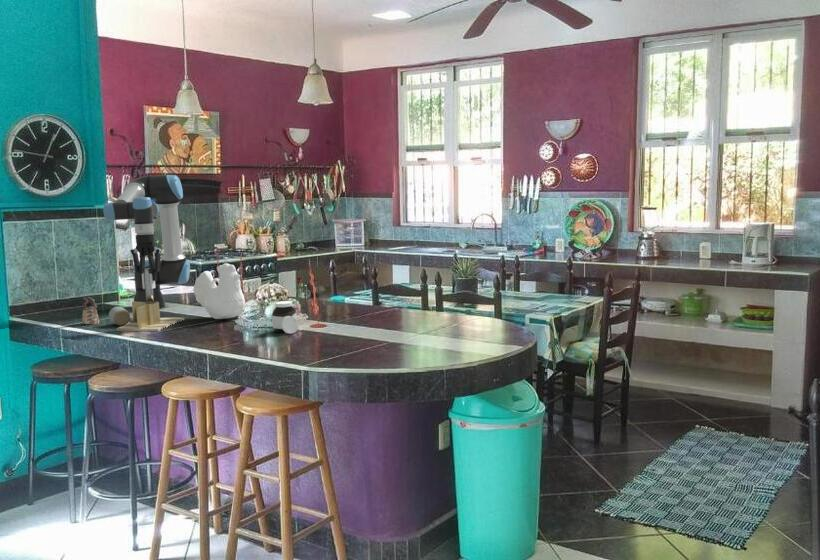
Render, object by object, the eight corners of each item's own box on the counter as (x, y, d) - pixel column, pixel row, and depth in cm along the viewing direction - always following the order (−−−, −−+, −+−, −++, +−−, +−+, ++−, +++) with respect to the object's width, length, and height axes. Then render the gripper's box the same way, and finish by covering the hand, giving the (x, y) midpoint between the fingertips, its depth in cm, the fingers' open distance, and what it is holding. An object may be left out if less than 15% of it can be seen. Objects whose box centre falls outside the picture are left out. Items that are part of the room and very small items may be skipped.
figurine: (102, 322, 346) (100, 296, 344) (87, 325, 341) (85, 298, 339) (94, 321, 350) (92, 295, 349) (79, 324, 345) (76, 297, 343)
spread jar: (285, 327, 320) (283, 300, 319) (307, 329, 315) (306, 301, 313) (267, 333, 310) (265, 304, 308) (290, 335, 305) (288, 306, 303)
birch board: (144, 319, 350) (144, 317, 349) (184, 319, 346) (184, 317, 346) (116, 330, 326) (116, 328, 326) (158, 330, 323) (158, 328, 323)
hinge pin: (148, 300, 335) (146, 268, 333) (155, 300, 335) (152, 268, 333) (145, 301, 332) (142, 269, 330) (151, 301, 332) (149, 269, 330)
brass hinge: (134, 321, 341) (133, 301, 340) (164, 321, 339) (162, 301, 337) (116, 328, 326) (114, 307, 325) (146, 328, 324) (145, 307, 323)
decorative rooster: (254, 316, 348) (250, 261, 344) (227, 323, 335) (223, 266, 332) (216, 312, 362) (212, 259, 359) (189, 318, 349) (185, 263, 346)
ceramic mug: (114, 327, 335) (113, 309, 334) (109, 324, 341) (107, 307, 340) (139, 324, 341) (138, 306, 340) (133, 321, 348) (132, 304, 347)
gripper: (122, 234, 327) (127, 289, 330) (157, 234, 325) (162, 289, 328) (131, 233, 335) (136, 287, 338) (166, 232, 332) (170, 286, 335)
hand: (149, 288), depth 333 cm, fingers closed on hinge pin, 3 cm apart
